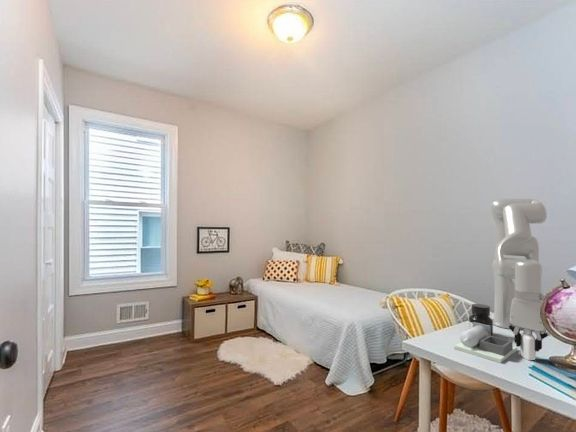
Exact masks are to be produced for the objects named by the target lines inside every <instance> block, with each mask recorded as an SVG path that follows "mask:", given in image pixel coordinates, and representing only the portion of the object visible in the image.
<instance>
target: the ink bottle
mask: <svg viewBox="0 0 576 432" xmlns="http://www.w3.org/2000/svg"><path fill="white" fill-rule="evenodd" d="M492 319H493V318H491V307H490V306H489V305H486V304H481V303H472V304H471V315H469V316H468V330H469V329H471V328H473V322H476V323H480V324H485V325H489V326H491V336H493V335H494V325H493V320H492Z"/></svg>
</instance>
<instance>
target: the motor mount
mask: <svg viewBox="0 0 576 432" xmlns="http://www.w3.org/2000/svg"><path fill="white" fill-rule="evenodd" d="M459 340H460V342H458V343H457V344H455V345H453V347H454V350H456V351H457V350H458V351H460V352H463V353H467V354H469V355H472V356H476V357H479V358H483V359H486V360H489V361H492V362H495V363H498V364H501V363H503V362H504V361H505V360H506V359H508V358H509V357H510V356H511V355H513V354H514V353H515V352H517V351H518V346H514V345H513V340H509V339H505V338H501V337H497V336H493V335H492V336H491V326H489V325H485V324H480V323H476V322H473V328H471V329H469V328H468V329H467V330H465V331H462V332H461V333H460V334H459Z"/></svg>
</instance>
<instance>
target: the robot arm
mask: <svg viewBox="0 0 576 432" xmlns="http://www.w3.org/2000/svg"><path fill="white" fill-rule="evenodd" d="M490 209H491V215H492V217H493V220H494V222H495V225H496V228H495V230H496V231H495V232H496V234H495V236H496V237H495V238H496V239H495V240H496V241H495V245H496V247H495V249H494V260H493V261H492V264H491V266H492V273H493V283H494V284H493V285H494V287H493V289H494V307H493V308H494V311H493V312H494V318H491V319H492V320H493V326H495V327H498V328H502V329H508V330H509V329H510V331H511V332H513V335H514V343H515V345H516V346H515V347H517V348H518V347H519V348H520V345H521V332H520V331H521V329H524V328H525V329H529V330H532V331H534V332H535V333H534V334H535V351H536V352H537V353H538V352H540V350H542V348H543V339H546V338H547V337H550V336H551V335H550V334H549V333H548V332H547V331H546V329H545V328H544V326H543V325H542V322H541V319H540V305H541V302H542V301H543V298H544V297H545V296H546V295H544V294H543V293H542V274H543V268H542V265H541V264H540V261H539V257H540V249H539V245H540V244H539V241H538V239H537V238H536V237H535V236H532V232H531V225H530V224H543V223H545V222H546V220H547V217H548V216H547V209H546V207H545V205H544V204H543V203H542V202H541V201H539V200H538V199H537V198H507V199H506V198H502V199H496V200H494V201H492V202H491V205H490ZM504 256H513V257H504ZM514 256H517V257H524V258H514ZM513 280H514V281H513ZM545 331H546V332H545Z"/></svg>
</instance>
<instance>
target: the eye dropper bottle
mask: <svg viewBox="0 0 576 432" xmlns="http://www.w3.org/2000/svg"><path fill="white" fill-rule="evenodd" d="M520 334H521V345H520V346H519V348H520V351H519V352H520V353H519V354H520V356H521V357H522V358H523V359H525V360H527V361H531V360H535V359H536V358H537V357H536V355H537V353H536V352H537V351H535V340H536V336H534V335H533V330H529V329H525V328H523V332H522V333H521V332H520ZM536 360H537V359H536ZM536 360H535V361H536Z"/></svg>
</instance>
